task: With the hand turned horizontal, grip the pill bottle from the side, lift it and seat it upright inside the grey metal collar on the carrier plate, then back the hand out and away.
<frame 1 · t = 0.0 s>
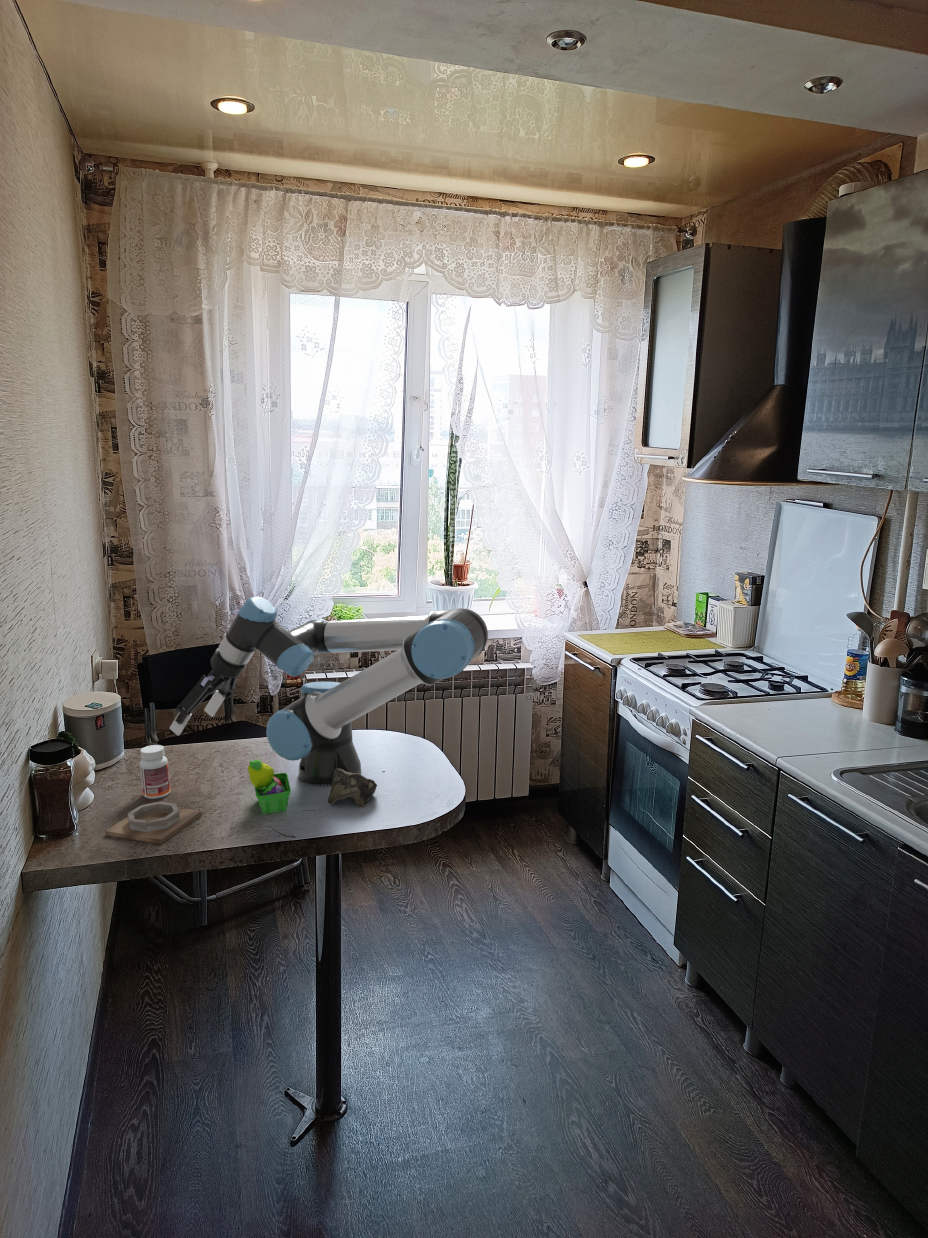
hand: (192, 722, 204), 15 cm above the table, tool tilted 35°, fingers open, 13 cm apart
fruit basket: (270, 806, 194), on the table
fossil: (354, 800, 196), on the table
carrier plate: (154, 825, 185), on the table
pill bottle: (157, 795, 201), on the table
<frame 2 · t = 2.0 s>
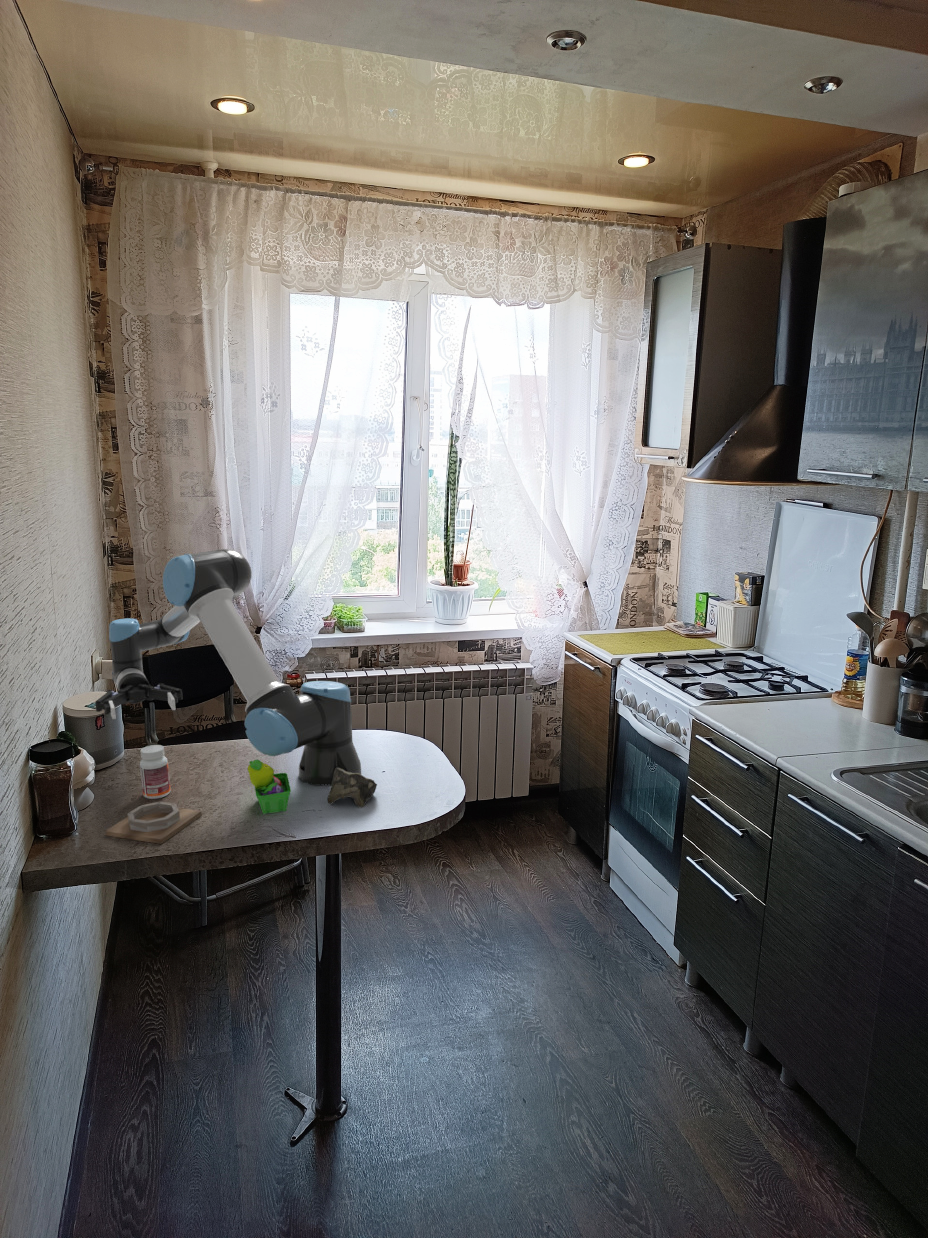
hand: (144, 709, 205), 18 cm above the table, tool horizontal, fingers open, 13 cm apart
nothing on the table moved.
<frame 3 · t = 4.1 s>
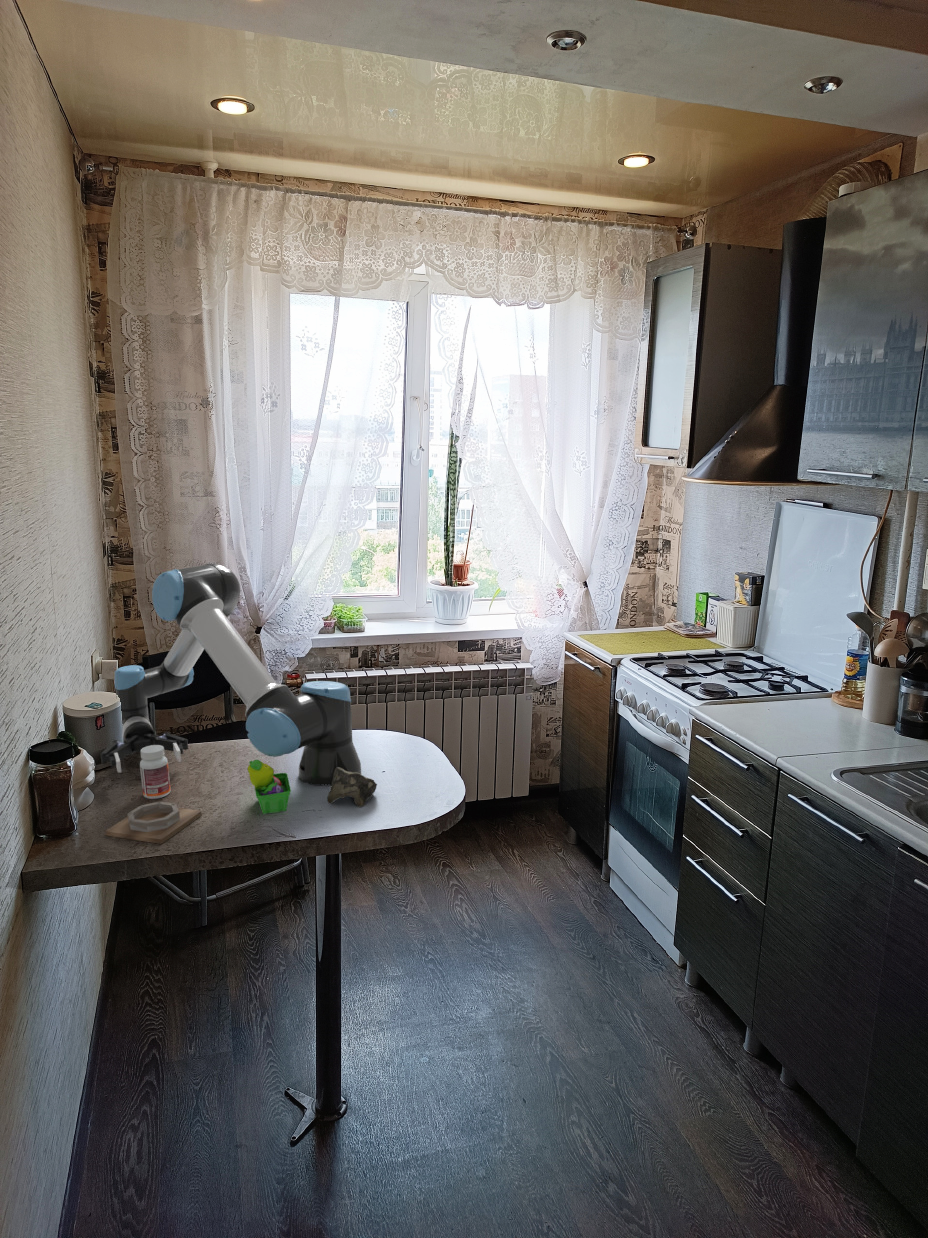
hand: (149, 761, 204), 6 cm above the table, tool horizontal, fingers open, 13 cm apart
nothing on the table moved.
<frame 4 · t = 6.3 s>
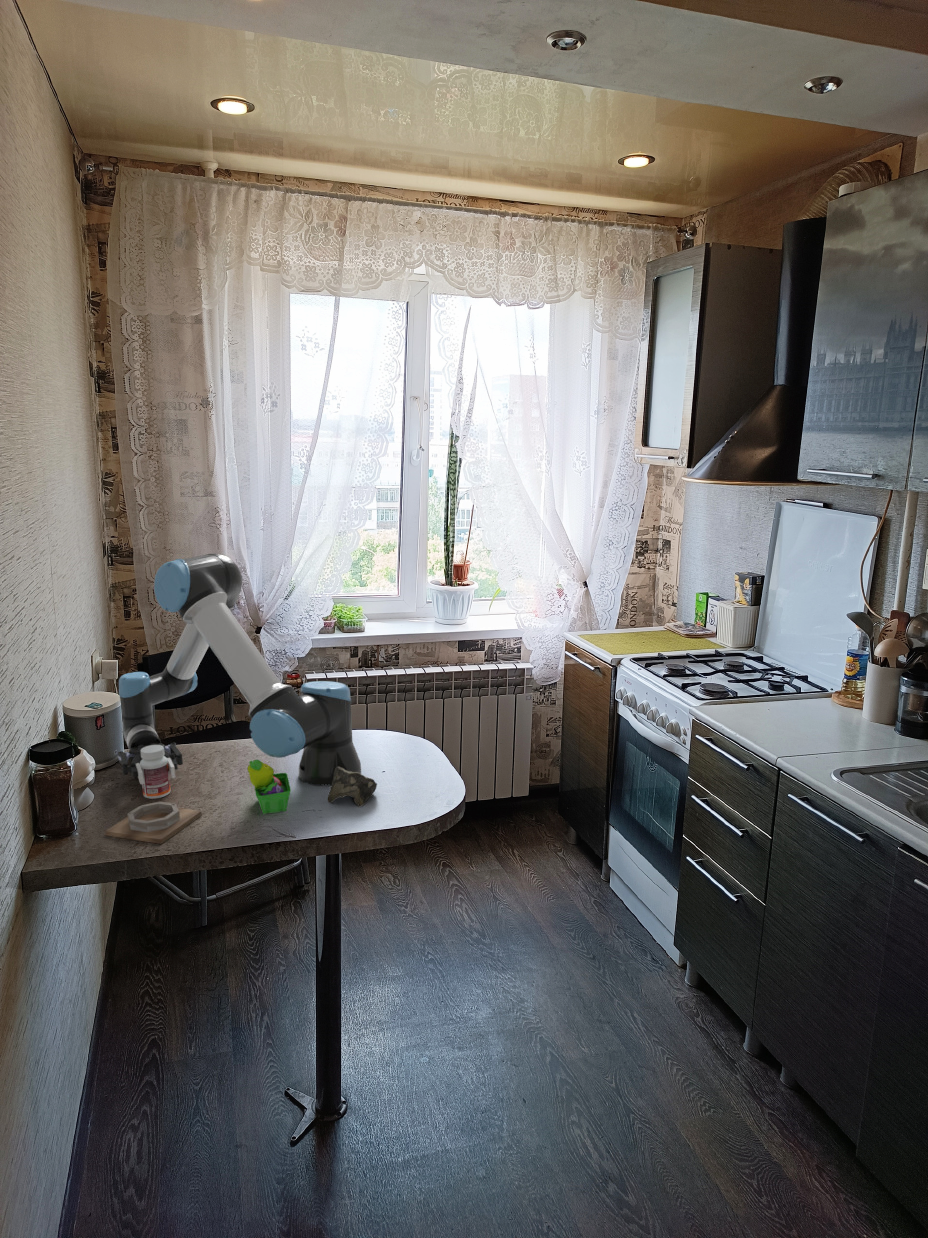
hand: (157, 775, 195), 7 cm above the table, tool horizontal, fingers closed on pill bottle, 6 cm apart
pill bottle: (157, 795, 201), on the table, touching gripper
everything else where it was.
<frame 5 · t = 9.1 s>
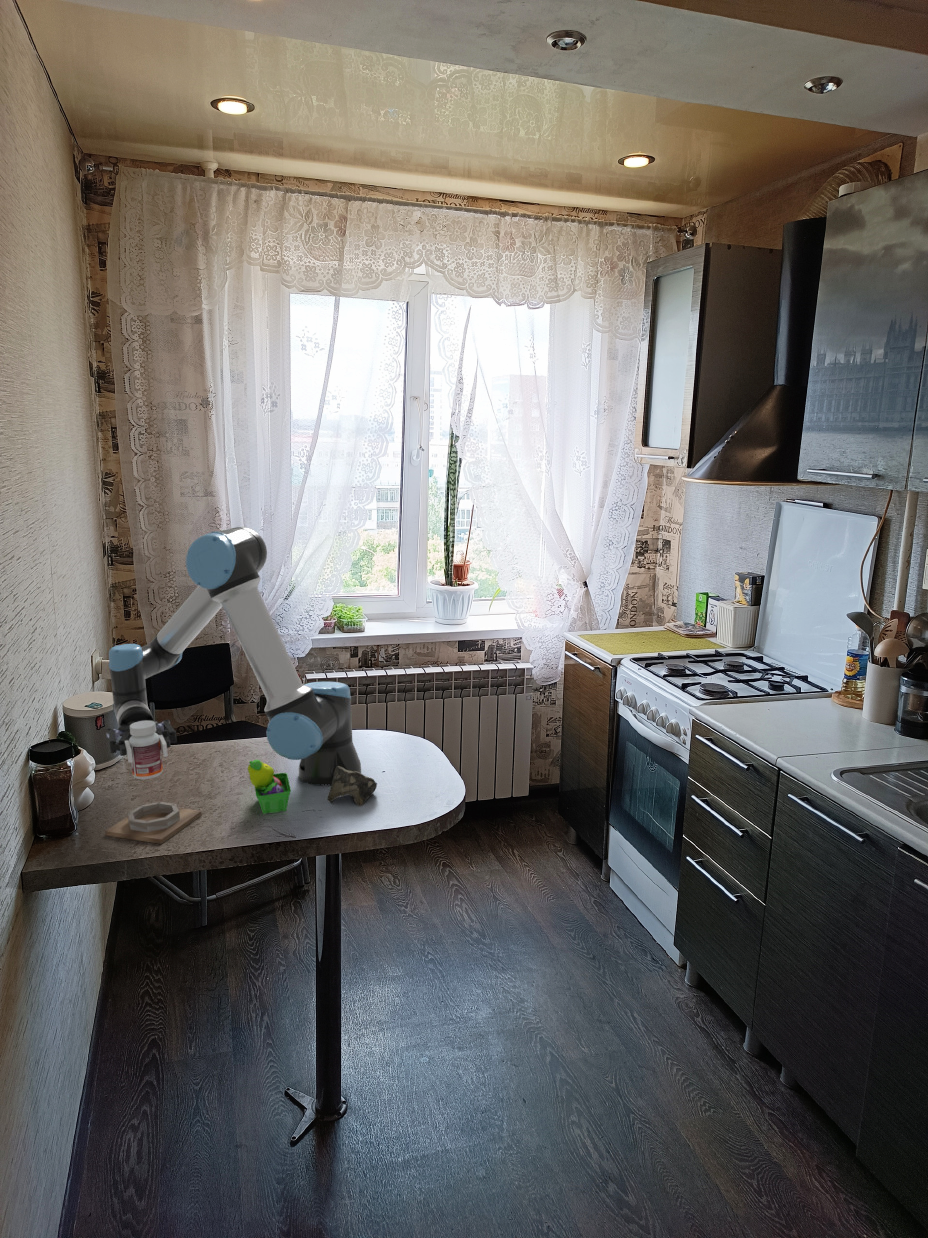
hand: (147, 753, 177), 18 cm above the table, tool horizontal, fingers closed on pill bottle, 6 cm apart
pill bottle: (148, 775, 183), point 11 cm above the table, touching gripper
when the fingers open (8 cm above the table, at t = 11.8 s): pill bottle stays where it is, resting on carrier plate.
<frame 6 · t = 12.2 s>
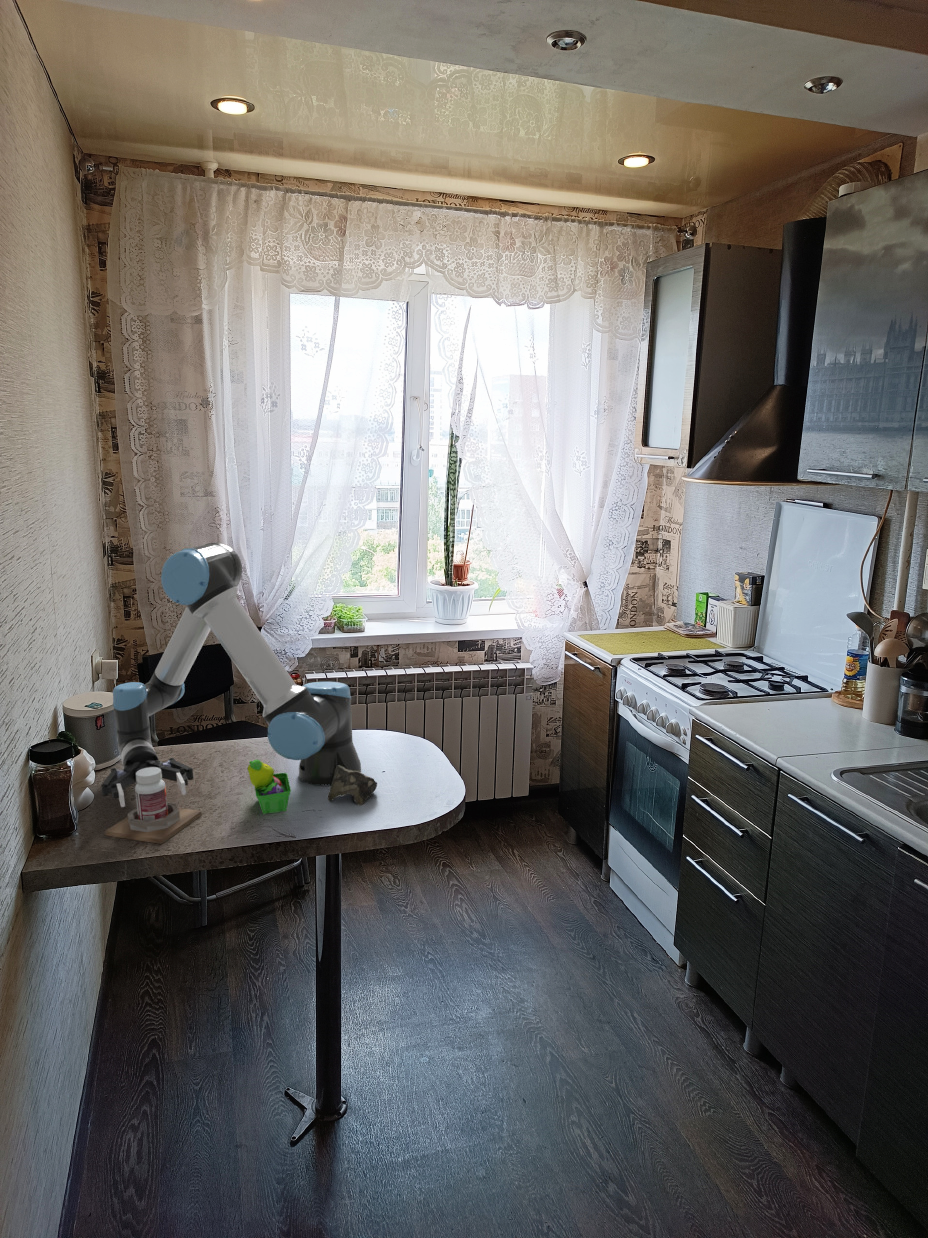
hand: (153, 794, 180), 8 cm above the table, tool horizontal, fingers open, 11 cm apart
pill bottle: (153, 821, 185), point 1 cm above the table, touching carrier plate
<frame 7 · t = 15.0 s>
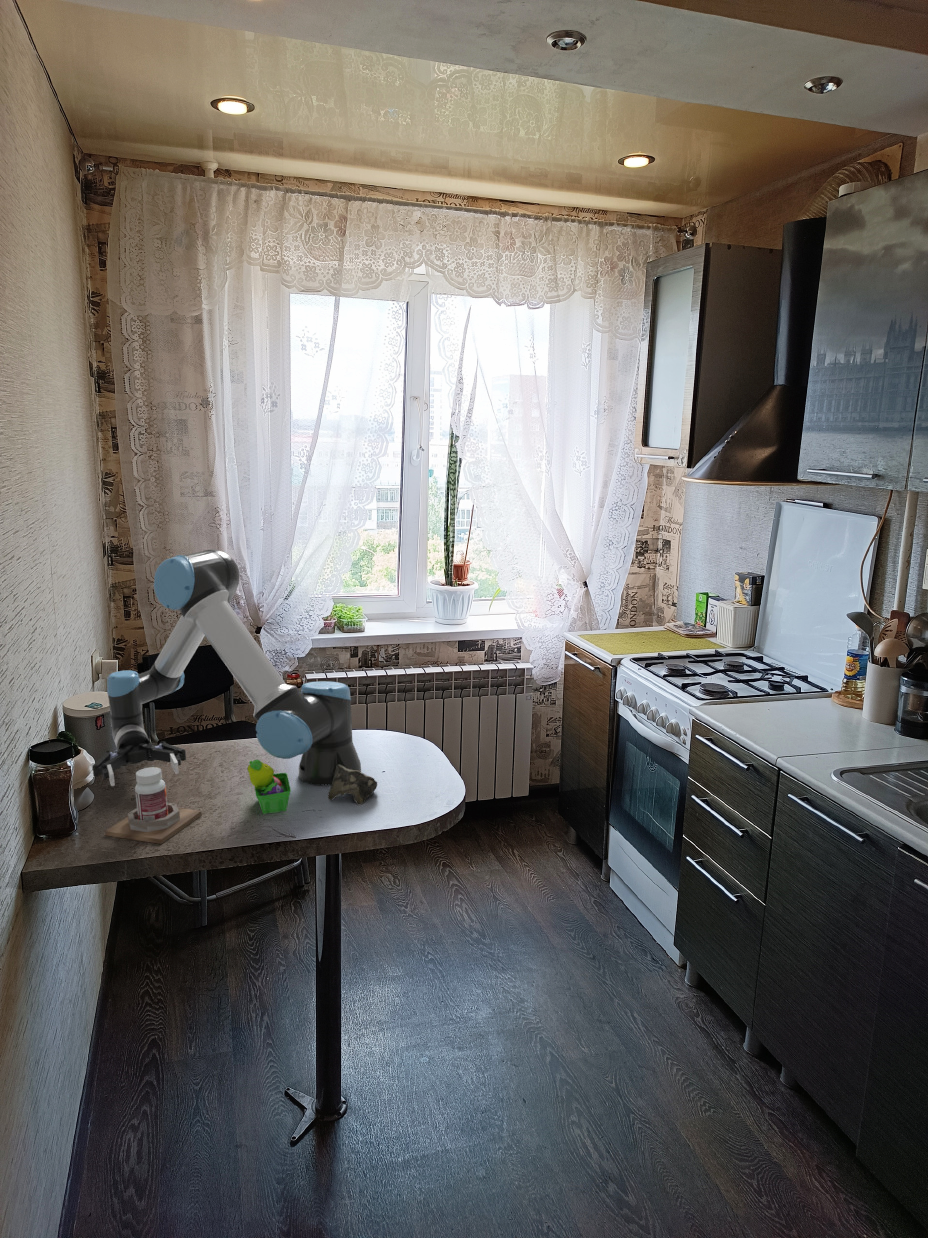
hand: (145, 774, 191), 9 cm above the table, tool horizontal, fingers open, 13 cm apart
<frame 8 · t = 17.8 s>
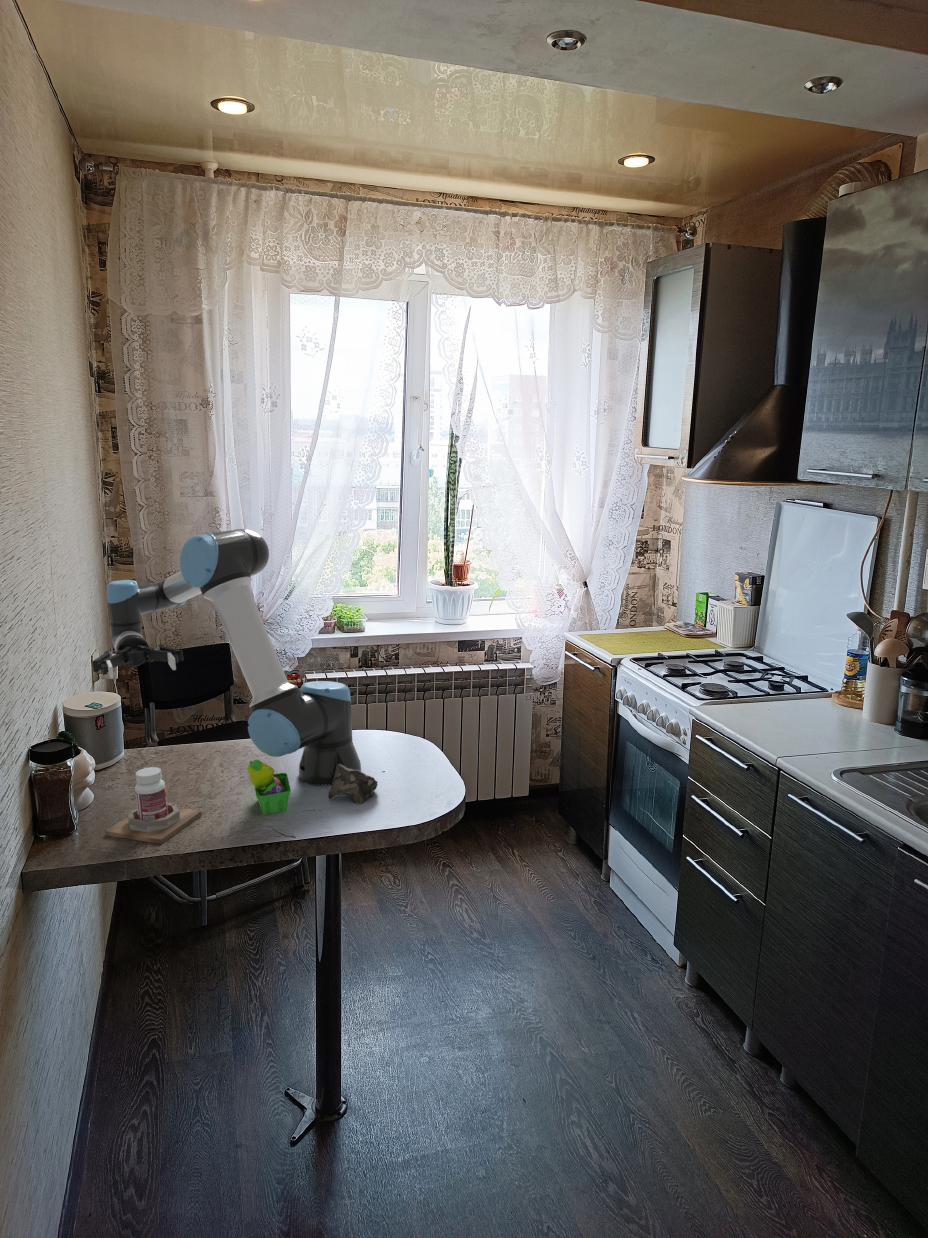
hand: (143, 668, 196), 30 cm above the table, tool horizontal, fingers open, 13 cm apart
at the end: pill bottle 0.1 cm off-centre on the carrier plate, point 0.8 cm above the carrier plate's base; pill bottle tilted 0°; the gripper is holding nothing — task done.
